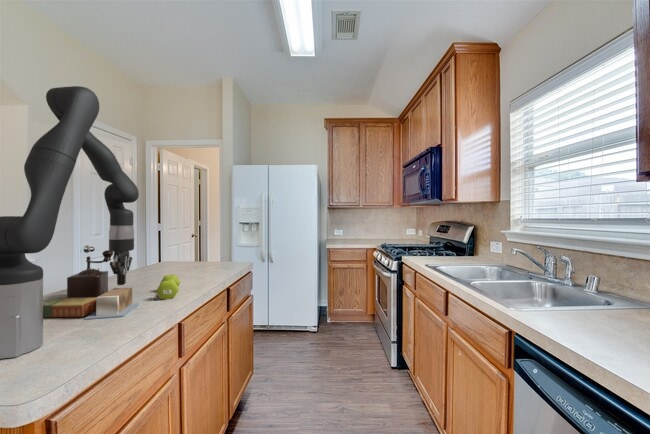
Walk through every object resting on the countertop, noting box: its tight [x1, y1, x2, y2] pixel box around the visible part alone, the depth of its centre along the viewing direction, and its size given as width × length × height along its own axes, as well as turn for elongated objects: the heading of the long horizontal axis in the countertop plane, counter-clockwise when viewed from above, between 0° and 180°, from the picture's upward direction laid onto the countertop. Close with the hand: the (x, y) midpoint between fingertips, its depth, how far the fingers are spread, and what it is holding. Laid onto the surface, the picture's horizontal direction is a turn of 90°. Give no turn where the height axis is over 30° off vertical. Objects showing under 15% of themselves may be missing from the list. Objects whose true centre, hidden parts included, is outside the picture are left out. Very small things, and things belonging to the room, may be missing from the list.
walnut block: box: [96, 286, 133, 316], centre depth 98 cm, size 6×6×12 cm
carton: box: [43, 297, 97, 318], centre depth 94 cm, size 8×16×4 cm, turn 88°
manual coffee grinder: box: [66, 249, 114, 298], centre depth 116 cm, size 16×11×18 cm
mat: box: [83, 303, 139, 321], centre depth 96 cm, size 13×11×1 cm
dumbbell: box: [156, 274, 181, 300], centre depth 117 cm, size 16×8×7 cm, turn 25°
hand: (121, 284), depth 102 cm, fingers closed
